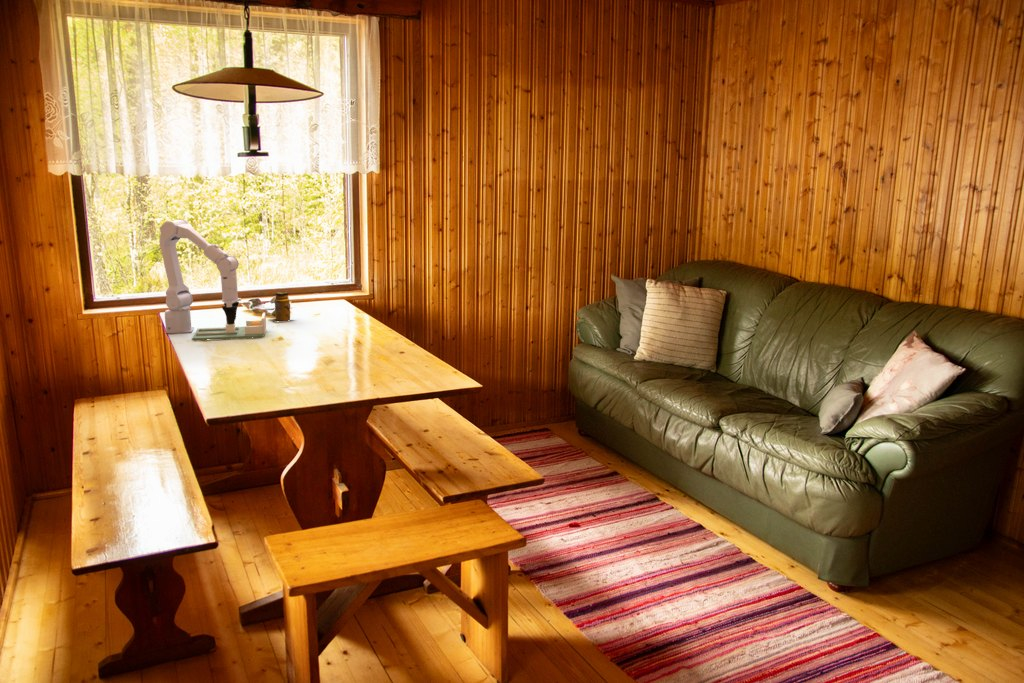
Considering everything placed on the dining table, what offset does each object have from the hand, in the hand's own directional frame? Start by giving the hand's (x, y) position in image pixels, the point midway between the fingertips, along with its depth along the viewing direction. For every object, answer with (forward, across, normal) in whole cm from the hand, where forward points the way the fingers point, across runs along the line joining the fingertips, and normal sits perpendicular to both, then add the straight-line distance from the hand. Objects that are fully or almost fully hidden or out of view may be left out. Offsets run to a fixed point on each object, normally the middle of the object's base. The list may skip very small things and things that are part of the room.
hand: (231, 322), depth 321 cm
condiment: (+5, +24, -18) cm, 30 cm away
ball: (+2, 0, -9) cm, 9 cm away
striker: (+4, 0, +1) cm, 4 cm away
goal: (+4, 0, -9) cm, 10 cm away
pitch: (+5, 0, +1) cm, 5 cm away
